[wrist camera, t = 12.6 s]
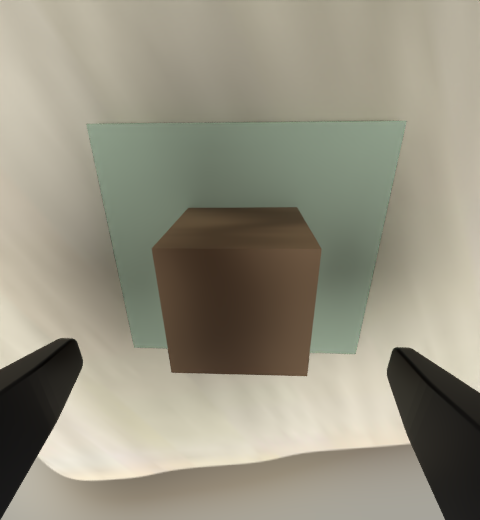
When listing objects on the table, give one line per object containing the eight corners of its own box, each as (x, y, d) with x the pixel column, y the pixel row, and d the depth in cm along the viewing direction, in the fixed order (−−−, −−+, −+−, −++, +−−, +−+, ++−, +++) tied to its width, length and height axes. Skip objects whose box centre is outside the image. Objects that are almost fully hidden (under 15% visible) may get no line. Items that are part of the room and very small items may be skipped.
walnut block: (297, 207, 12) (321, 248, 8) (290, 300, 15) (307, 376, 10) (188, 207, 13) (151, 248, 8) (197, 299, 15) (171, 372, 10)
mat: (397, 121, 12) (406, 120, 11) (351, 344, 17) (355, 354, 16) (96, 124, 12) (86, 123, 11) (139, 338, 17) (134, 347, 16)
